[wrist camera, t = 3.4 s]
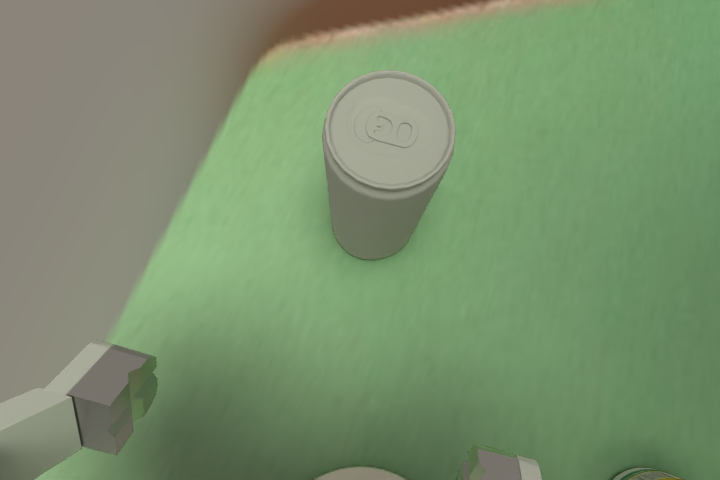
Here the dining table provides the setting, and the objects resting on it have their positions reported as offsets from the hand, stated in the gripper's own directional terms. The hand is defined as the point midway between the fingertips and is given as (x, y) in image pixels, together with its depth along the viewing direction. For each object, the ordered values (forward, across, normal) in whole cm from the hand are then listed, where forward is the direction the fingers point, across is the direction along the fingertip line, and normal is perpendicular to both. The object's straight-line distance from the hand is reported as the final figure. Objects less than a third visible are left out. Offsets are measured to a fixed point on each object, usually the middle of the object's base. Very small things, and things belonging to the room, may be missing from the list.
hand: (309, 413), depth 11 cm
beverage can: (+17, 0, +4) cm, 17 cm away
